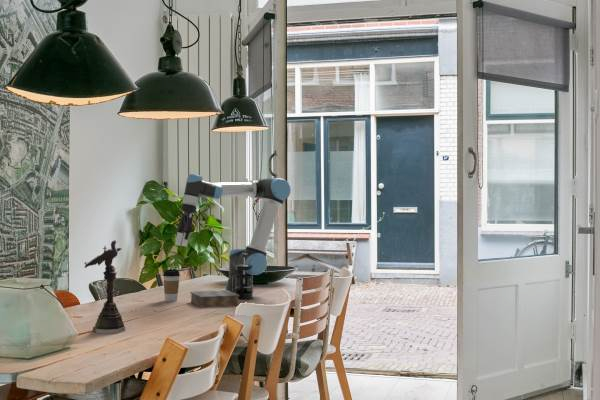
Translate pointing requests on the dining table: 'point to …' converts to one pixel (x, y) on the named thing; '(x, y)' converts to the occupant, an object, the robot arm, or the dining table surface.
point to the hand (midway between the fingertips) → (180, 245)
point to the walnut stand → (214, 298)
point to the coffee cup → (171, 284)
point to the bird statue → (108, 295)
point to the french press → (243, 282)
